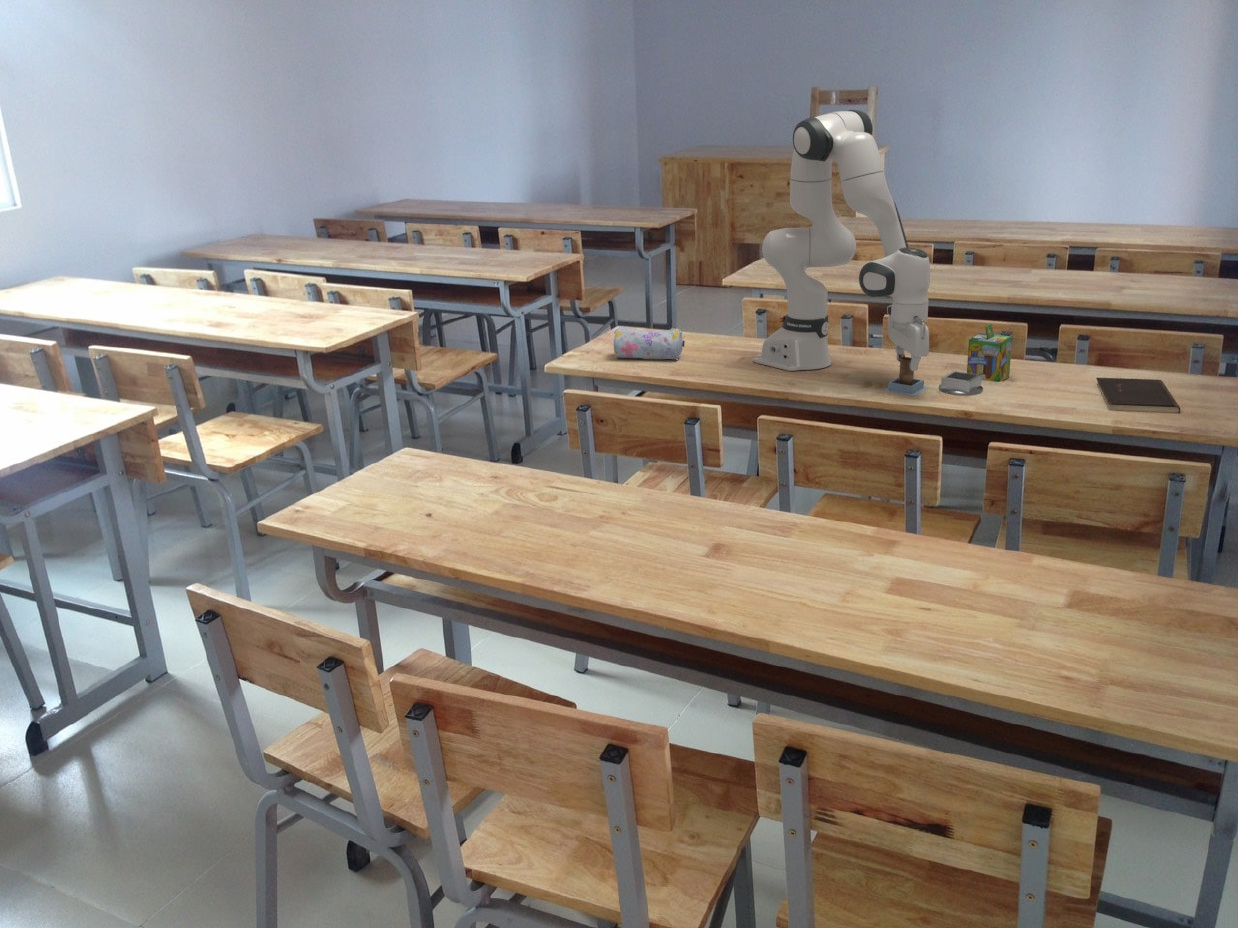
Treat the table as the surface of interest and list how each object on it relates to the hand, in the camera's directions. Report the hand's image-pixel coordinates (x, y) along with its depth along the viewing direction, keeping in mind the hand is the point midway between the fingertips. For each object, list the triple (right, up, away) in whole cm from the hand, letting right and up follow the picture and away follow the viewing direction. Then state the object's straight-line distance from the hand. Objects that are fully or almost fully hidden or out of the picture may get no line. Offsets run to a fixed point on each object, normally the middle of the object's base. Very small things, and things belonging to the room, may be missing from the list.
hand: (906, 365), depth 281 cm
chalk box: (+25, -3, +12) cm, 28 cm away
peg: (0, -6, +3) cm, 7 cm away
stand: (0, -7, +3) cm, 8 cm away
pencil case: (-66, +6, +45) cm, 80 cm away
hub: (+14, -7, +1) cm, 16 cm away
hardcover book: (+56, -10, -8) cm, 57 cm away
